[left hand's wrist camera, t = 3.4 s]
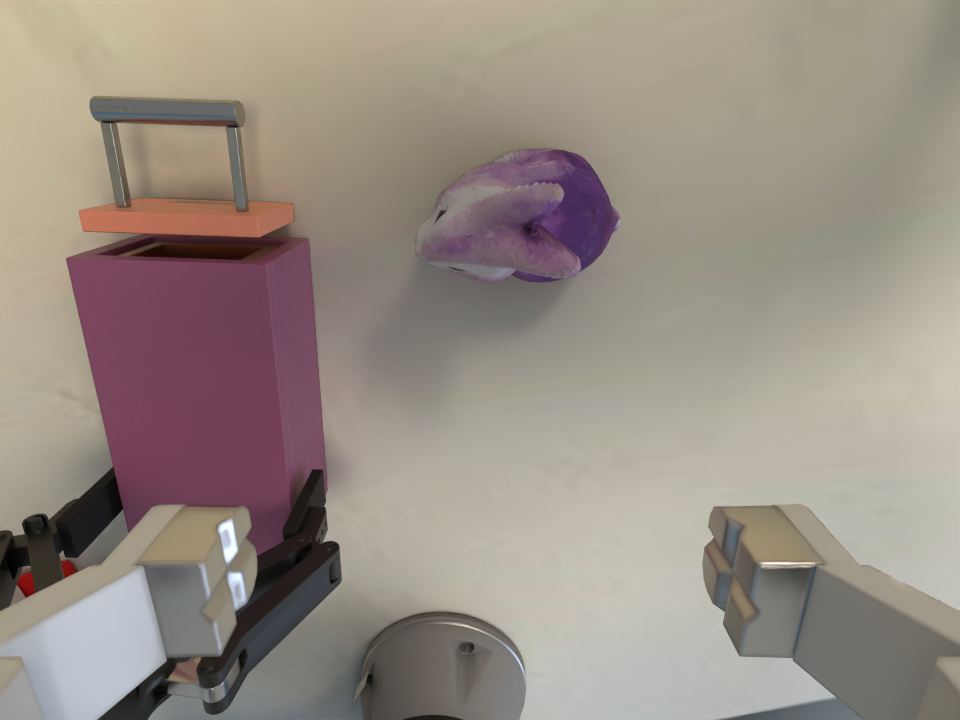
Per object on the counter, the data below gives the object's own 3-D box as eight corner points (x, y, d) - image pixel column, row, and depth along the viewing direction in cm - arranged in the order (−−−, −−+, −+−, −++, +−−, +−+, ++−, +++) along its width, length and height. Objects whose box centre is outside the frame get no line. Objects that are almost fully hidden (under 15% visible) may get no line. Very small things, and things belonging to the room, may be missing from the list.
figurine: (417, 208, 40) (379, 252, 26) (536, 101, 37) (565, 86, 23) (506, 311, 42) (514, 401, 28) (623, 217, 40) (696, 266, 26)
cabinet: (146, 232, 41) (65, 257, 33) (309, 238, 41) (266, 264, 33) (190, 485, 48) (132, 554, 41) (327, 490, 48) (296, 560, 41)
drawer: (123, 98, 37) (52, 93, 31) (284, 104, 37) (245, 100, 31) (184, 451, 46) (139, 499, 40) (313, 456, 46) (287, 504, 40)
